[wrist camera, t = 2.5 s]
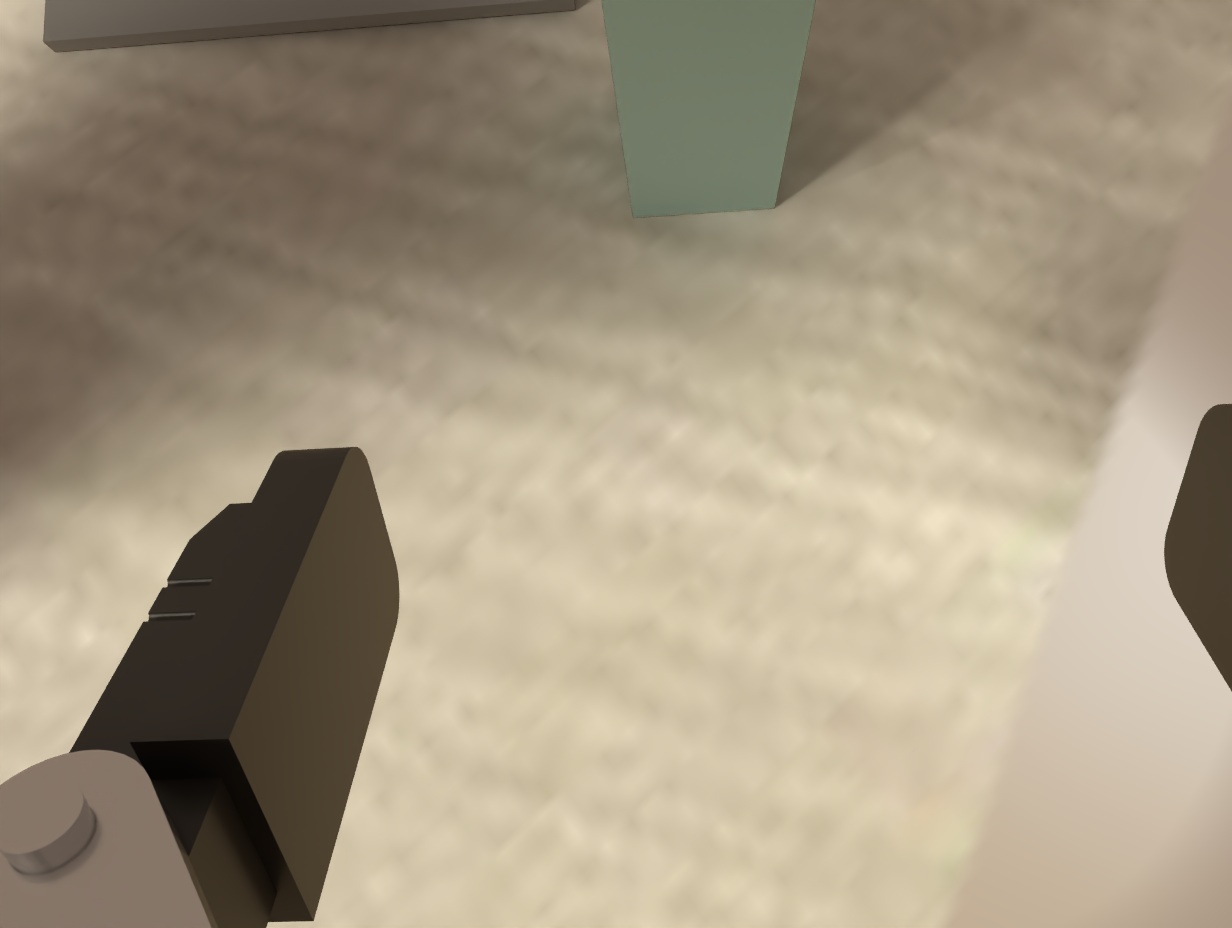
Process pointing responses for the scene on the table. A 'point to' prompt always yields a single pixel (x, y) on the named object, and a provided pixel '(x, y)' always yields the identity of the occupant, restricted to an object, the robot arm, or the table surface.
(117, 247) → the table surface
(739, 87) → the teal block
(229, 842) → the robot arm
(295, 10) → the gray mat
